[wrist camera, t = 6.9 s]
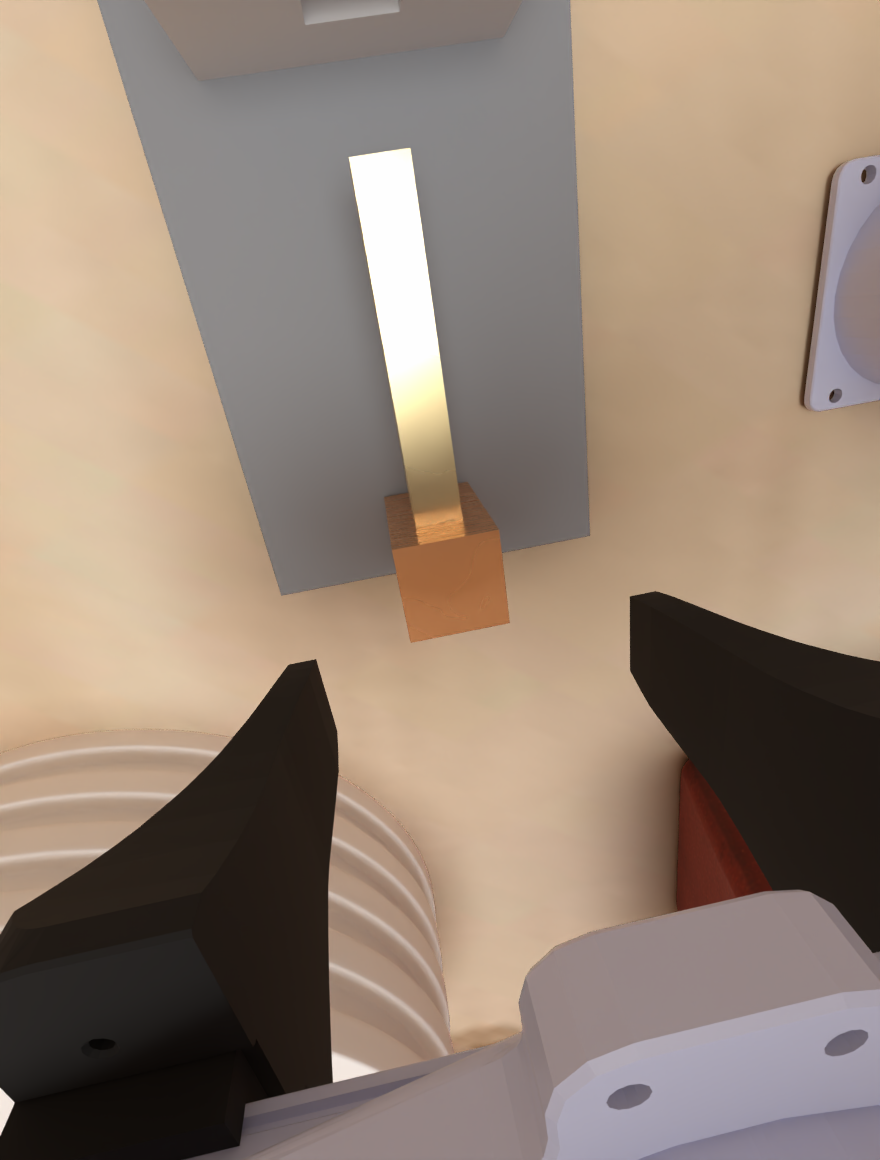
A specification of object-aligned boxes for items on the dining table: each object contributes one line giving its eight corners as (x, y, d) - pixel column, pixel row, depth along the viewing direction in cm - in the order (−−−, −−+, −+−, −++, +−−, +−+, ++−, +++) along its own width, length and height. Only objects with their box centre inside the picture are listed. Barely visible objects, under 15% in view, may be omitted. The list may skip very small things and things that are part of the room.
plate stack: (-15, 1115, 35) (-172, 1453, 24) (-267, 764, 23) (-780, 1134, 13) (439, 1040, 38) (469, 1311, 28) (425, 696, 26) (470, 948, 16)
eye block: (545, -211, 14) (692, -621, 8) (578, 525, 23) (662, 604, 17) (62, -153, 14) (-188, -550, 7) (285, 582, 22) (257, 686, 16)
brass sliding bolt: (427, 177, 16) (453, 125, 12) (477, 558, 21) (509, 622, 17) (322, 193, 16) (309, 147, 12) (399, 573, 21) (410, 642, 17)
